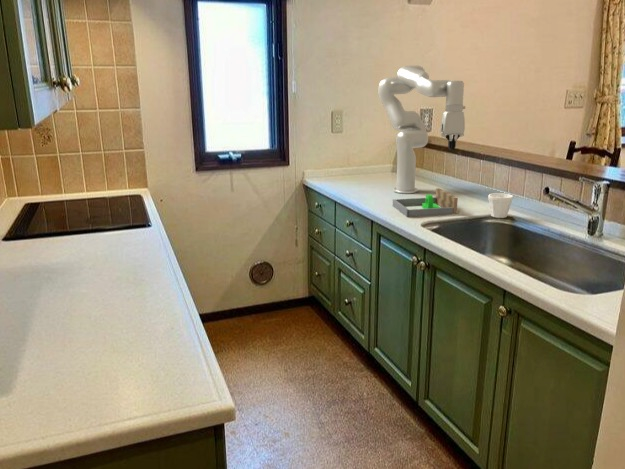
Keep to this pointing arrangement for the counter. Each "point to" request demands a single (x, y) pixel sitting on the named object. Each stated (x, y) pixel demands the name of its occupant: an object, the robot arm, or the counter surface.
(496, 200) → the cup
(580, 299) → the counter surface
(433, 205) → the mechanical part
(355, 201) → the counter surface
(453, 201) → the gate
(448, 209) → the grey tray
